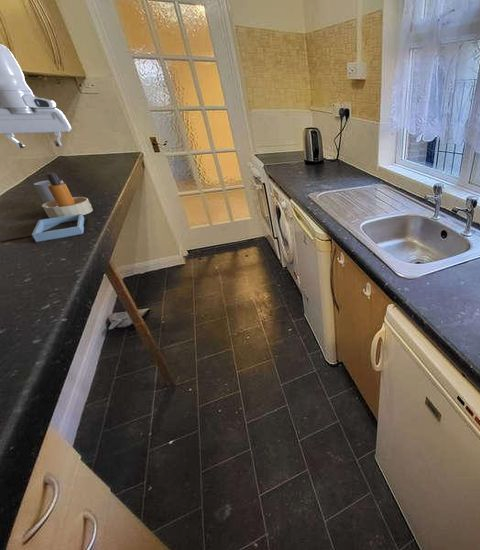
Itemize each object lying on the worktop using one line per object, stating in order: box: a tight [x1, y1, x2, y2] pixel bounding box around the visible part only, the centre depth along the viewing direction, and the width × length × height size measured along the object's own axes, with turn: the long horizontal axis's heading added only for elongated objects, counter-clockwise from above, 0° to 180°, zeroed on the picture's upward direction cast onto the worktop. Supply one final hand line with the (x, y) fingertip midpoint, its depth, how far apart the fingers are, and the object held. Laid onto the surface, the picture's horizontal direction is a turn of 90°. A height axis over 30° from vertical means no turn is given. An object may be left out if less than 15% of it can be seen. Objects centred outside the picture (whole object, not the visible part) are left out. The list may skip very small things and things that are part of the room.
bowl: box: [41, 196, 94, 219], centre depth 114 cm, size 13×13×5 cm
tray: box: [31, 214, 85, 243], centre depth 102 cm, size 12×16×3 cm
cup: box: [33, 179, 64, 204], centre depth 120 cm, size 8×8×10 cm
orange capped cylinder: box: [45, 172, 76, 207], centre depth 111 cm, size 5×5×15 cm
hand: (41, 147), depth 103 cm, fingers open, 8 cm apart
